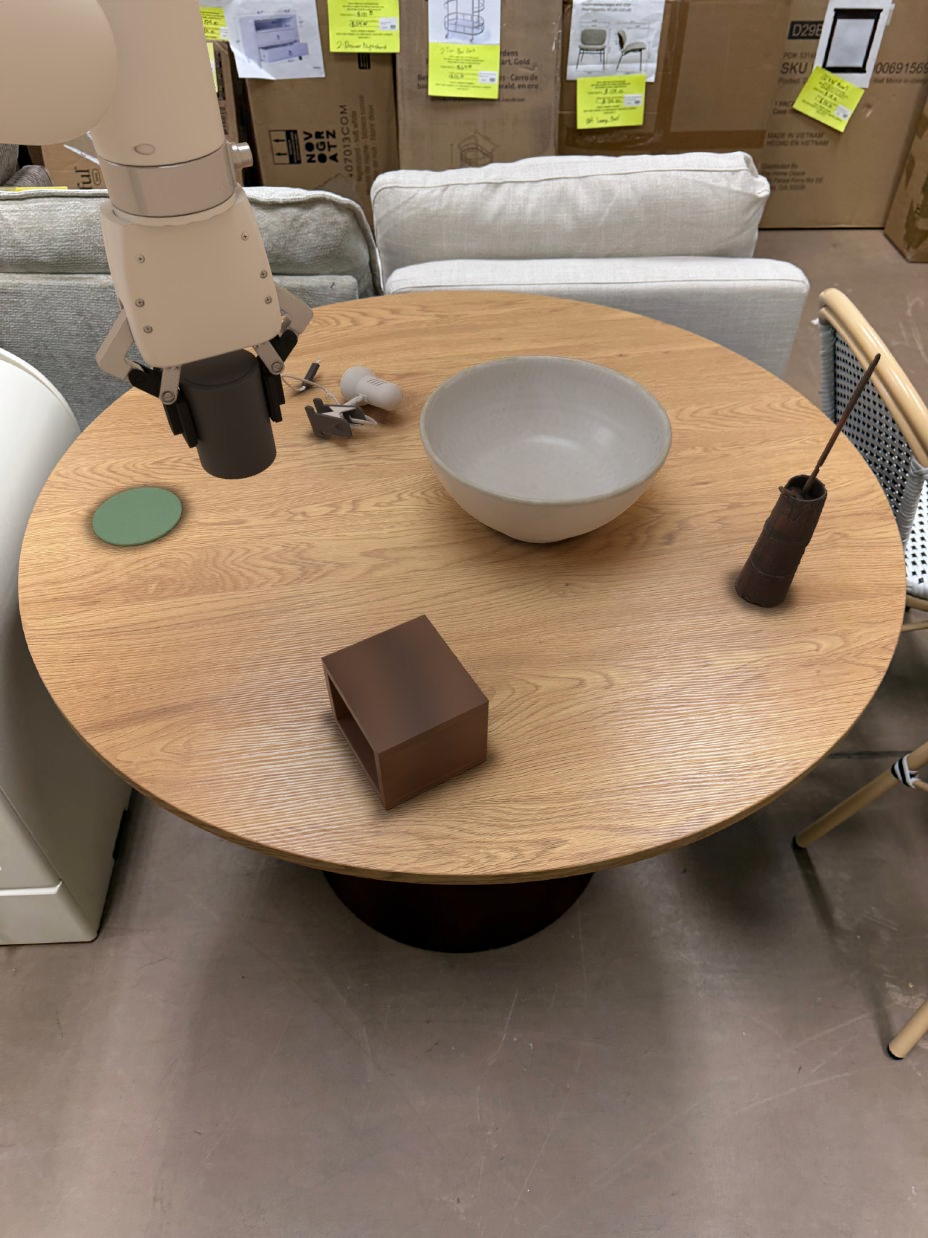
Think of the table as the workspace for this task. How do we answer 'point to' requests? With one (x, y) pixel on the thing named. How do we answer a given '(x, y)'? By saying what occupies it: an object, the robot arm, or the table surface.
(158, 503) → the mat
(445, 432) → the decorative bowl
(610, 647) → the table surface
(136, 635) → the table surface
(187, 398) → the dark brown cylinder
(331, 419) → the clip-on lamp
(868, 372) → the butter churn
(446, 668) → the box
